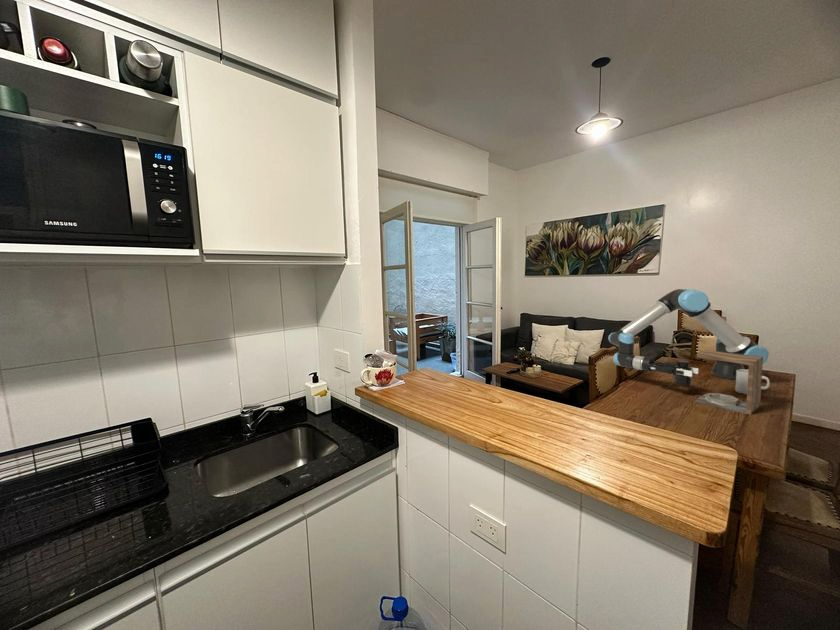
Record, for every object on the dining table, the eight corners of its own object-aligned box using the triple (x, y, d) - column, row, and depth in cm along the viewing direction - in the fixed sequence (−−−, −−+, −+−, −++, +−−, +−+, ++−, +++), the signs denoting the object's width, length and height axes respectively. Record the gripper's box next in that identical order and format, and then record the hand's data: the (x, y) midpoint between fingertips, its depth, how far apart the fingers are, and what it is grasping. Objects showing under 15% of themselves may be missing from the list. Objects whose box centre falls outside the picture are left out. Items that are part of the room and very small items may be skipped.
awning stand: (705, 395, 165) (707, 350, 162) (760, 407, 148) (762, 356, 146) (695, 401, 158) (696, 354, 155) (750, 414, 141) (753, 361, 139)
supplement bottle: (684, 382, 170) (686, 359, 169) (694, 386, 163) (695, 362, 162) (670, 382, 171) (671, 359, 169) (679, 386, 164) (680, 363, 163)
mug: (735, 392, 167) (736, 371, 165) (735, 388, 173) (736, 368, 171) (769, 397, 158) (770, 375, 157) (768, 393, 164) (769, 371, 163)
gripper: (652, 367, 187) (702, 376, 167) (635, 373, 177) (686, 383, 157) (652, 354, 186) (703, 362, 167) (635, 359, 176) (687, 368, 156)
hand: (695, 372), depth 162 cm, fingers closed on supplement bottle, 7 cm apart
